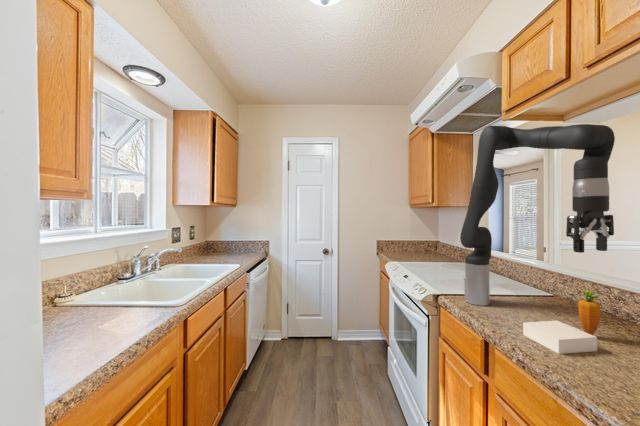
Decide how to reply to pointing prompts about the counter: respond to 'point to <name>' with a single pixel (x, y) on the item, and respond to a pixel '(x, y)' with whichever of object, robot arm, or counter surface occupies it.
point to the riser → (560, 337)
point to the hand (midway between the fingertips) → (590, 251)
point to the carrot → (589, 312)
